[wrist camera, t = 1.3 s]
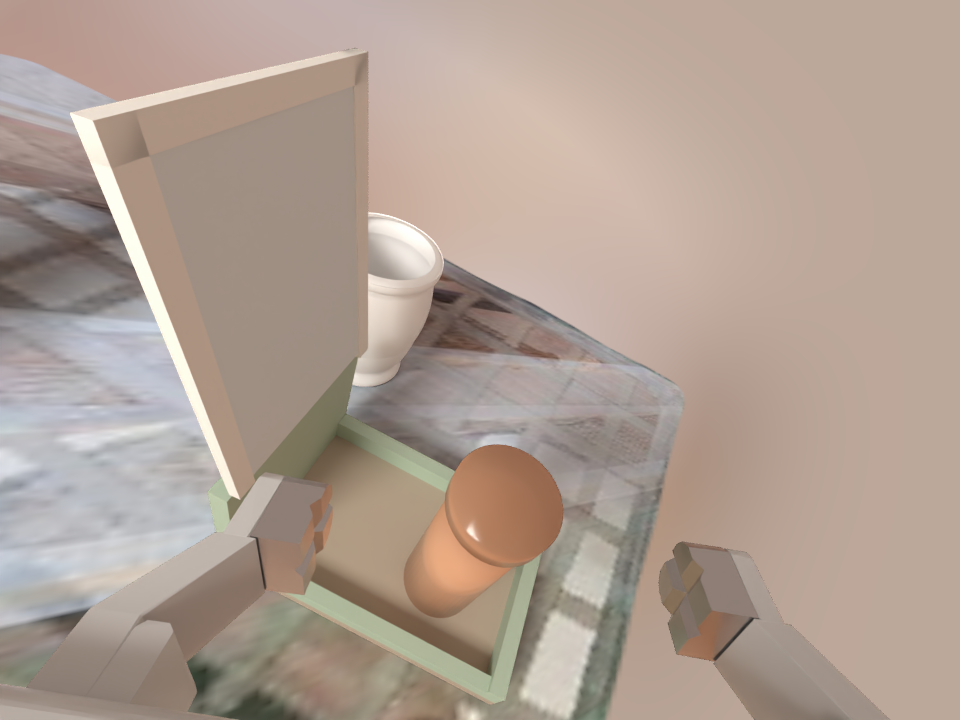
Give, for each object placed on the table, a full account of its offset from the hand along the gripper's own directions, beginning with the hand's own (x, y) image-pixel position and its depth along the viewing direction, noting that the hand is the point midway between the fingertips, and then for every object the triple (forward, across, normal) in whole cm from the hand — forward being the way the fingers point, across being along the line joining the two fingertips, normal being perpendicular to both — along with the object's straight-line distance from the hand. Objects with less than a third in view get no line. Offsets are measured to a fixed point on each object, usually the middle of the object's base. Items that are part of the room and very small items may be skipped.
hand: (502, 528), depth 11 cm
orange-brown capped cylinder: (+14, +1, +26) cm, 29 cm away
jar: (+34, +13, +20) cm, 42 cm away
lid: (+13, +10, +2) cm, 17 cm away
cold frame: (+16, +4, +25) cm, 31 cm away
